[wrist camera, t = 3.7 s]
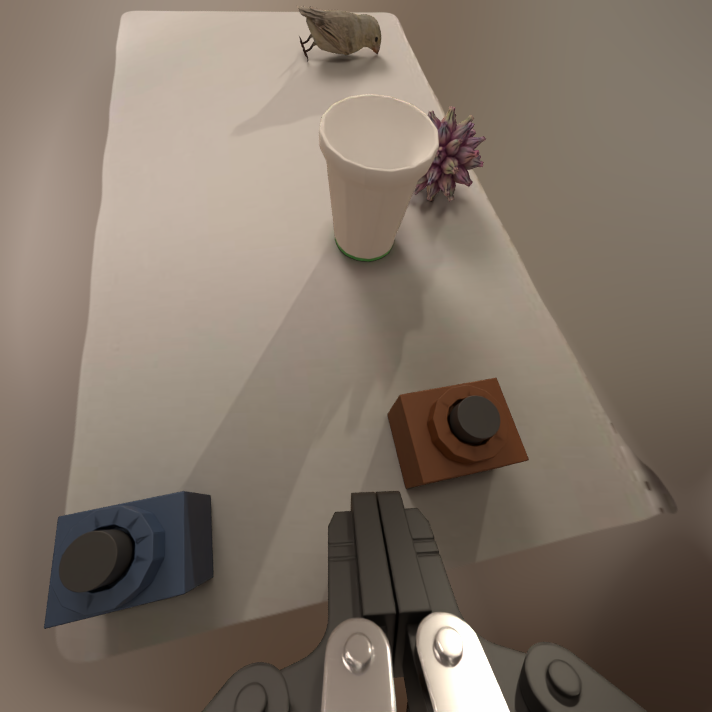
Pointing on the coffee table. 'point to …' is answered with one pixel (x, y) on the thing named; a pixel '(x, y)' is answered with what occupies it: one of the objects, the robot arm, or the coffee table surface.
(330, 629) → the robot arm
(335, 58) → the coffee table surface
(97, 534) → the dark grey round cap
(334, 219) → the cup
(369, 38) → the decorative bird
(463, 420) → the grey round disc
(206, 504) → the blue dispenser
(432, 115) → the flower
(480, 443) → the brown block with collar
